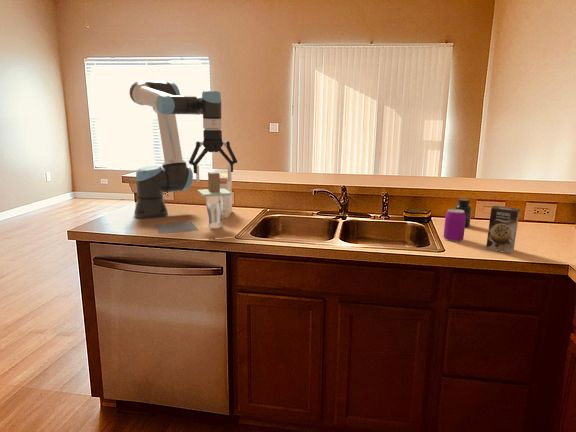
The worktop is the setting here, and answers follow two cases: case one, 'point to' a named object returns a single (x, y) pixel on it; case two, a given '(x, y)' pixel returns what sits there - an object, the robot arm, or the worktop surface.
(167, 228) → the mat
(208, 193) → the lid
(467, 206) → the supplement bottle
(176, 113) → the robot arm
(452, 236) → the beverage can
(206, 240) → the worktop surface
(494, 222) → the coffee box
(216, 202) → the beer glass
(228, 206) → the coffeecake box
